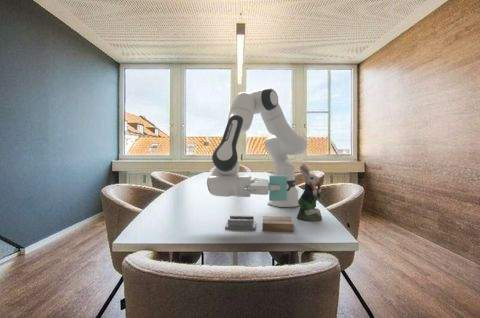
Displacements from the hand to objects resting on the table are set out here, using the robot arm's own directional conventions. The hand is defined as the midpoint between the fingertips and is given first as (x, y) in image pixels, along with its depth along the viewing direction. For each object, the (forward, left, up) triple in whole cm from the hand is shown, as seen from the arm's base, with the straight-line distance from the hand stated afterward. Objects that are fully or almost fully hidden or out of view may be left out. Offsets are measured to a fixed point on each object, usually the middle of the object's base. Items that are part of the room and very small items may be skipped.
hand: (280, 186), depth 128 cm
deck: (0, -1, -17) cm, 17 cm away
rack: (0, -16, -17) cm, 23 cm away
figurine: (-17, +14, -17) cm, 28 cm away
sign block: (0, -1, -6) cm, 6 cm away
